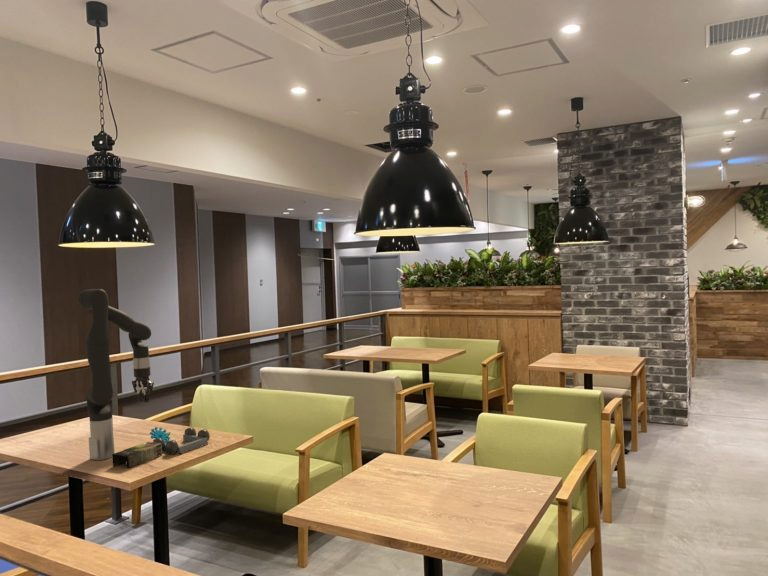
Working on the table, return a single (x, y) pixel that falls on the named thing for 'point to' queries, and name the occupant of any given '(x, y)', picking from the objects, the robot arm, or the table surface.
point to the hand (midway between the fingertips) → (143, 401)
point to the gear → (160, 434)
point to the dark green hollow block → (137, 454)
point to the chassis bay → (189, 437)
